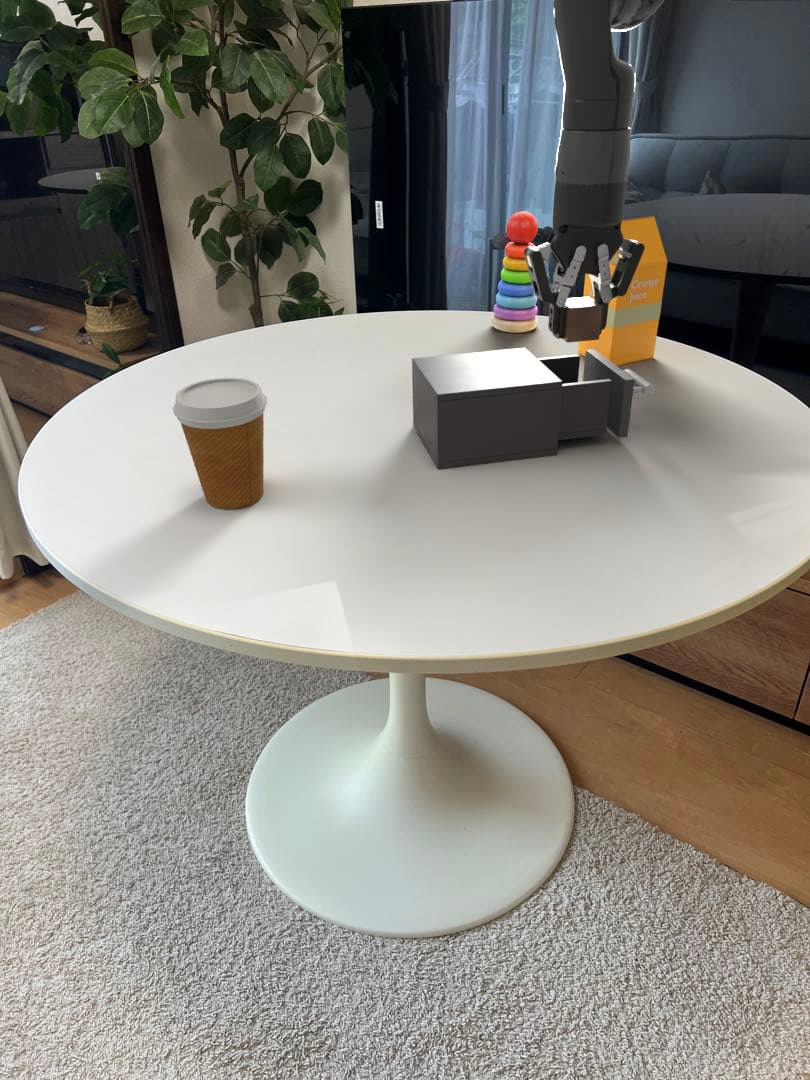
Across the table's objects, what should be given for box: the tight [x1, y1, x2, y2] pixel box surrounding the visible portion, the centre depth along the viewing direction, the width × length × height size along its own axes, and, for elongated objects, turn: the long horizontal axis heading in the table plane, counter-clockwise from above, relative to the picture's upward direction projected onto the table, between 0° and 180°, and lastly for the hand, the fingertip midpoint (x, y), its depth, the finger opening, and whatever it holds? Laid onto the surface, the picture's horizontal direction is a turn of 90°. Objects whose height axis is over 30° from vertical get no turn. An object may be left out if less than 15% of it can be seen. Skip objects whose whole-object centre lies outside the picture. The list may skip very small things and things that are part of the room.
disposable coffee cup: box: [172, 377, 268, 510], centre depth 83 cm, size 10×10×12 cm
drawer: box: [536, 349, 655, 441], centre depth 97 cm, size 18×11×7 cm, turn 102°
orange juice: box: [577, 215, 668, 366], centre depth 118 cm, size 8×9×20 cm
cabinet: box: [411, 347, 563, 470], centre depth 95 cm, size 15×13×9 cm
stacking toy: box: [491, 211, 539, 334], centre depth 132 cm, size 8×8×19 cm
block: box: [561, 296, 603, 344], centre depth 92 cm, size 4×4×4 cm
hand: (576, 334), depth 93 cm, fingers closed on block, 4 cm apart
